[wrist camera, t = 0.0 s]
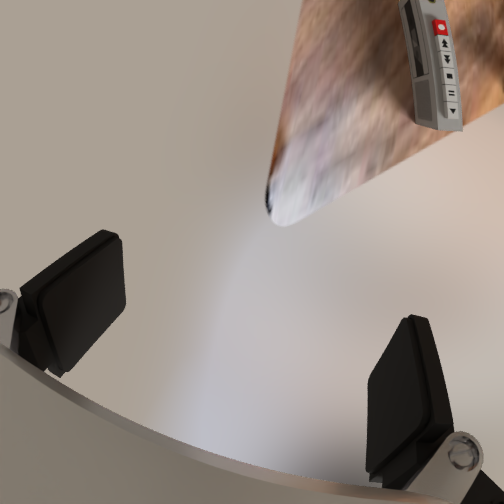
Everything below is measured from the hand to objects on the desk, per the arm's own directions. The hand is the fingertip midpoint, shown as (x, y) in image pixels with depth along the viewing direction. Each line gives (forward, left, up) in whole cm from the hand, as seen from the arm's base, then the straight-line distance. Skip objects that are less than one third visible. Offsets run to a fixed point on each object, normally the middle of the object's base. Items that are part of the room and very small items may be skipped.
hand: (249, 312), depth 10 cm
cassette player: (-15, +10, -32) cm, 36 cm away
